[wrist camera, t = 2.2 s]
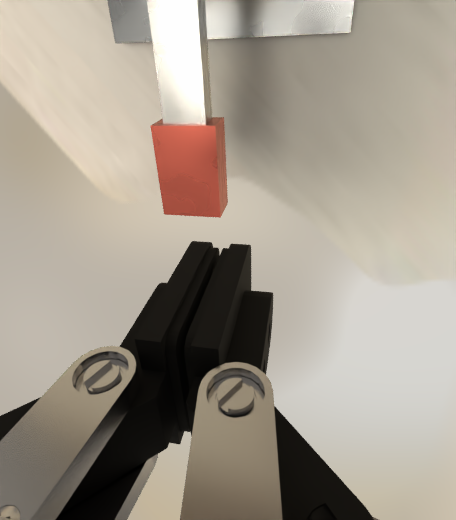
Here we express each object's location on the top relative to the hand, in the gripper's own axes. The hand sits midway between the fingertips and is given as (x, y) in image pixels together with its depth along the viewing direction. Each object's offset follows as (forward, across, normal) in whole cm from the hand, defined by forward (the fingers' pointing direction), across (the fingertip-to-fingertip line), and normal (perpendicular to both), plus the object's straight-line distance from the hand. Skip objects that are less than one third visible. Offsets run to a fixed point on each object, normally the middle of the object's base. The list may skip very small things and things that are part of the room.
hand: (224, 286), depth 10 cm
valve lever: (+9, +3, -6) cm, 11 cm away
